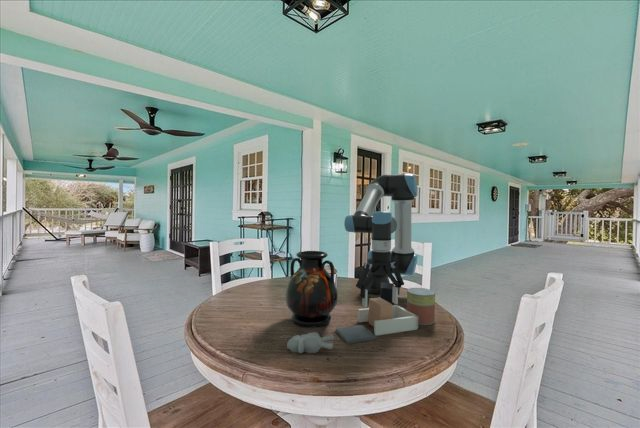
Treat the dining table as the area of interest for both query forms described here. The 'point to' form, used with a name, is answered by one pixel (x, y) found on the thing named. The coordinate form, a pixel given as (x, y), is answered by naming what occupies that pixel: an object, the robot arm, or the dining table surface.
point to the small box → (387, 292)
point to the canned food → (422, 304)
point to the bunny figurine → (309, 343)
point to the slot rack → (391, 321)
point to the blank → (379, 310)
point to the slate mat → (355, 334)
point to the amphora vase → (311, 290)
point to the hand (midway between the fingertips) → (380, 304)
